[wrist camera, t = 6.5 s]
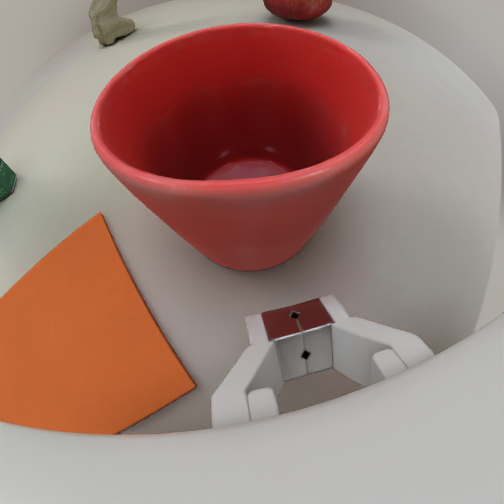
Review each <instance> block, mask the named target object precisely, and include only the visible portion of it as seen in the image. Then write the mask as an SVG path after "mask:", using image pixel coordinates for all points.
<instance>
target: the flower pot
mask: <svg viewBox="0 0 504 504" xmlns="http://www.w3.org/2000/svg"><path fill="white" fill-rule="evenodd" d="M388 118H389V98H388V94H387V91H386V88H385V86H384V83H383V81H382V79H381V78H380V76H379V75H378V73H377V72H376V71H375V69H374V68H373V67H372V66H371V65H370V63H369V62H368V61H367V60H365V59H364V58H363V57H362V56H361V55H360V54H358V53H357V52H356V51H354V50H353V49H351V48H349V47H348V46H346V45H344V44H343V43H341V42H339V41H337V40H335V39H332V38H330V37H328V36H325V35H322V34H320V33H317V32H313V31H310V30H306V29H302V28H298V27H293V26H288V25H280V24H269V23H239V24H229V25H222V26H216V27H211V28H206V29H201V30H197V31H194V32H191V33H187V34H184V35H181V36H178V37H176V38H173V39H171V40H168V41H166V42H164V43H162V44H160V45H158V46H156V47H154V48H152V49H150V50H148V51H147V52H145V53H143V54H142V55H140V56H138V57H137V58H135V59H134V60H133V61H131V62H130V63H129V64H127V65H126V66H125V67H124V68H123V69H121V70H120V71H119V72H118V73H117V74H116V75H115V76H114V77H113V78H112V79H111V80H110V82H109V83H108V84H107V85H106V87H105V88H104V89H103V91H102V92H101V94H100V96H99V97H98V99H97V101H96V103H95V106H94V108H93V112H92V115H91V123H90V130H91V139H92V143H93V146H94V149H95V151H96V153H97V154H98V156H99V157H100V159H101V160H102V162H103V163H104V164H105V166H106V167H107V168H108V169H109V170H110V171H111V173H112V174H113V175H114V176H115V177H116V178H117V179H118V180H119V181H120V182H121V183H122V184H123V185H124V186H125V187H126V188H127V189H128V190H129V191H130V192H131V193H132V194H133V195H134V196H135V197H137V198H138V199H139V200H140V201H141V202H142V203H143V204H144V205H145V206H147V207H148V208H149V209H150V210H151V211H152V212H153V213H155V214H156V215H157V216H158V217H159V218H160V219H161V220H163V221H164V222H165V223H166V224H167V225H168V226H170V227H171V228H172V229H173V230H174V231H175V232H177V233H178V234H179V235H180V236H181V237H183V238H184V239H185V240H186V241H188V242H189V243H190V244H191V245H192V246H194V247H195V248H196V249H197V250H198V251H200V252H201V253H202V254H203V255H204V256H206V257H207V258H208V259H210V260H212V261H213V262H215V263H217V264H219V265H221V266H224V267H227V268H231V269H235V270H243V271H256V270H263V269H268V268H271V267H274V266H276V265H279V264H281V263H283V262H285V261H287V260H288V259H290V258H291V257H293V256H294V255H295V254H296V253H297V252H299V251H300V250H301V249H302V247H303V246H304V245H305V244H306V243H307V242H308V240H309V239H310V238H311V237H312V236H313V234H314V233H315V232H316V231H317V230H318V228H319V227H320V226H321V225H322V223H323V222H324V221H325V219H326V218H327V217H328V215H329V214H330V213H331V211H332V210H333V208H334V207H335V206H336V204H337V203H338V202H339V200H340V199H341V197H342V196H343V194H344V193H345V191H346V190H347V189H348V187H349V186H350V184H351V183H352V181H353V180H354V179H355V177H356V176H357V174H358V173H359V172H360V170H361V169H362V167H363V166H364V164H365V163H366V161H367V160H368V159H369V157H370V156H371V154H372V153H373V151H374V149H375V148H376V146H377V144H378V143H379V141H380V140H381V138H382V136H383V134H384V132H385V129H386V126H387V123H388Z"/></svg>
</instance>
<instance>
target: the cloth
mask: <svg viewBox="0 0 504 504" xmlns="http://www.w3.org/2000/svg"><path fill="white" fill-rule="evenodd" d="M195 387H197V385H196V384H195V382H194V381H193V380H192V378H191V377H190V375H189V374H188V372H187V371H186V369H185V368H184V366H183V365H182V363H181V362H180V360H179V359H178V357H177V355H176V354H175V352H174V351H173V349H172V348H171V346H170V344H169V343H168V341H167V340H166V338H165V336H164V335H163V333H162V331H161V330H160V328H159V326H158V325H157V323H156V321H155V319H154V318H153V316H152V314H151V312H150V311H149V309H148V307H147V305H146V303H145V302H144V300H143V298H142V296H141V294H140V292H139V291H138V289H137V287H136V285H135V283H134V281H133V279H132V277H131V275H130V273H129V271H128V269H127V267H126V265H125V263H124V261H123V259H122V257H121V255H120V253H119V251H118V249H117V247H116V244H115V242H114V240H113V238H112V236H111V233H110V231H109V229H108V227H107V224H106V222H105V220H104V217H103V215H102V214H101V213H100V212H99V213H98V214H97V215H95V216H94V217H93V218H91V219H90V220H89V221H87V222H86V223H85V224H83V225H82V226H81V227H80V228H78V229H77V230H76V231H75V232H73V233H72V234H71V235H70V236H68V237H67V238H66V239H65V240H63V241H62V242H61V243H60V244H59V245H57V246H56V247H55V248H54V249H53V250H52V251H50V252H49V253H48V254H47V255H46V256H45V257H44V258H42V259H41V260H40V261H39V262H38V263H37V264H36V265H35V266H34V267H32V268H31V269H30V270H29V271H28V272H27V273H26V274H25V275H24V276H23V277H22V278H21V279H20V280H19V281H18V282H17V283H16V284H15V285H14V286H13V287H12V288H11V289H10V290H9V291H8V292H7V293H6V294H5V295H4V296H3V297H2V298H1V299H0V421H2V422H7V423H11V424H16V425H21V426H26V427H32V428H39V429H45V430H53V431H62V432H72V433H86V434H112V435H115V434H117V433H119V432H120V431H122V430H124V429H126V428H128V427H130V426H132V425H133V424H135V423H137V422H139V421H141V420H142V419H144V418H146V417H148V416H149V415H151V414H153V413H154V412H156V411H158V410H160V409H161V408H163V407H165V406H166V405H168V404H170V403H171V402H173V401H175V400H176V399H178V398H180V397H181V396H183V395H184V394H186V393H188V392H189V391H191V390H192V389H194V388H195Z"/></svg>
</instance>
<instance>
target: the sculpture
mask: <svg viewBox="0 0 504 504" xmlns="http://www.w3.org/2000/svg"><path fill="white" fill-rule="evenodd" d="M89 17H90V19H91V23H92V32H93V34H94V38H96V39H98V40H99V43H100V45H106V44H112V43H114V42H115V38H117V37H121V36H125V35H128V34H129V33H130V32H132V31H133V30H134V29H135V23H134V22H133V21H132V20H130V19H126V18H120V17H118V14H117V0H93V2H92V4H91V7H90V9H89Z"/></svg>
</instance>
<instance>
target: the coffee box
mask: <svg viewBox="0 0 504 504" xmlns="http://www.w3.org/2000/svg"><path fill="white" fill-rule="evenodd" d="M15 182H16V174H15V173H14V172H13V171H12V170H11V169H10V168H9V167H8V165H7V164H6V163H5V162H4V161H3V160H2V159H1V158H0V201H1V200H2V199H4V198H5V197H6V196H8V195H9V194H10V193H12V192H13V190H14V186H15Z"/></svg>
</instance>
